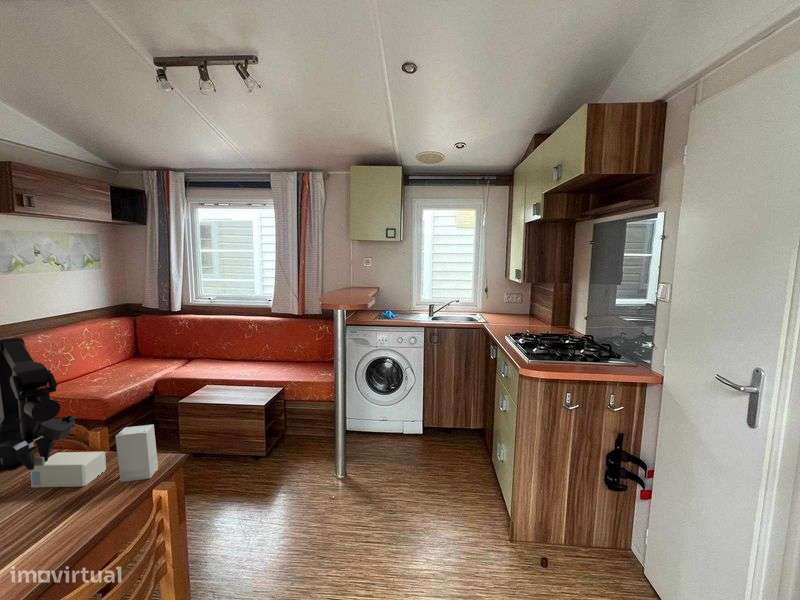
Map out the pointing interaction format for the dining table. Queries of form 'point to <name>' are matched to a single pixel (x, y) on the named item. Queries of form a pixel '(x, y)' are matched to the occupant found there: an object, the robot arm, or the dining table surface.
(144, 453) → the skincare box
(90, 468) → the carton
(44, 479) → the pale grey panel
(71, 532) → the dining table surface
